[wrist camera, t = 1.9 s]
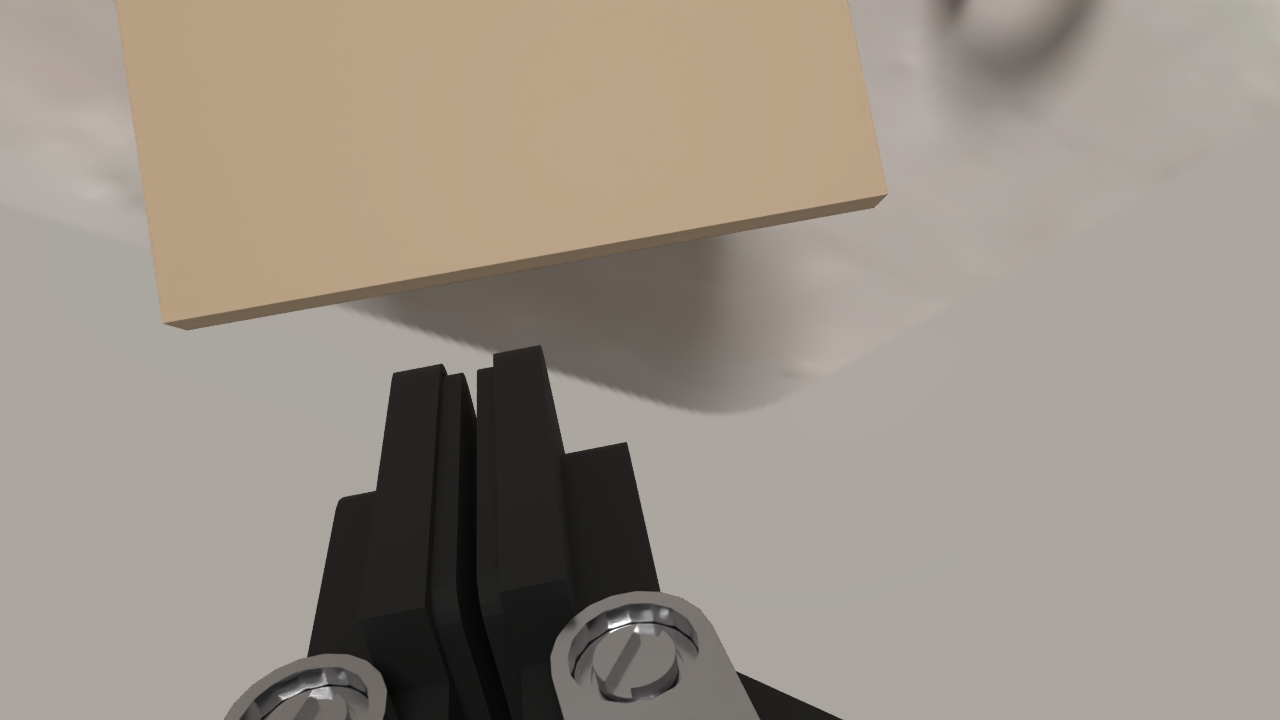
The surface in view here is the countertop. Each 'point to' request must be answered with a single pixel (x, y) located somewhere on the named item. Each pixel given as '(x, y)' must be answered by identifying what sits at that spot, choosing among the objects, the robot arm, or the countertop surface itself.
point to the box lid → (475, 137)
